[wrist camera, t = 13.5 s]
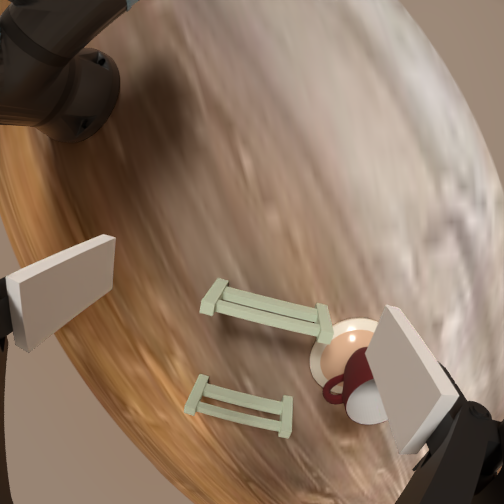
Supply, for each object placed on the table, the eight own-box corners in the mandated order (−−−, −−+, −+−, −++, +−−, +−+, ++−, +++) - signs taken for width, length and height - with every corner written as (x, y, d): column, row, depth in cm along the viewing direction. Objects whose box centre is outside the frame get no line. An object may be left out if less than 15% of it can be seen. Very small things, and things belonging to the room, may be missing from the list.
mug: (333, 394, 42) (339, 440, 33) (311, 357, 41) (314, 402, 32) (396, 364, 40) (416, 406, 30) (379, 324, 39) (400, 363, 29)
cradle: (198, 380, 46) (183, 412, 38) (217, 277, 41) (201, 300, 33) (290, 403, 45) (288, 438, 37) (327, 305, 40) (334, 333, 33)
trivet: (298, 382, 44) (298, 386, 43) (325, 308, 40) (326, 311, 39) (374, 395, 43) (375, 399, 42) (408, 326, 40) (410, 329, 39)
